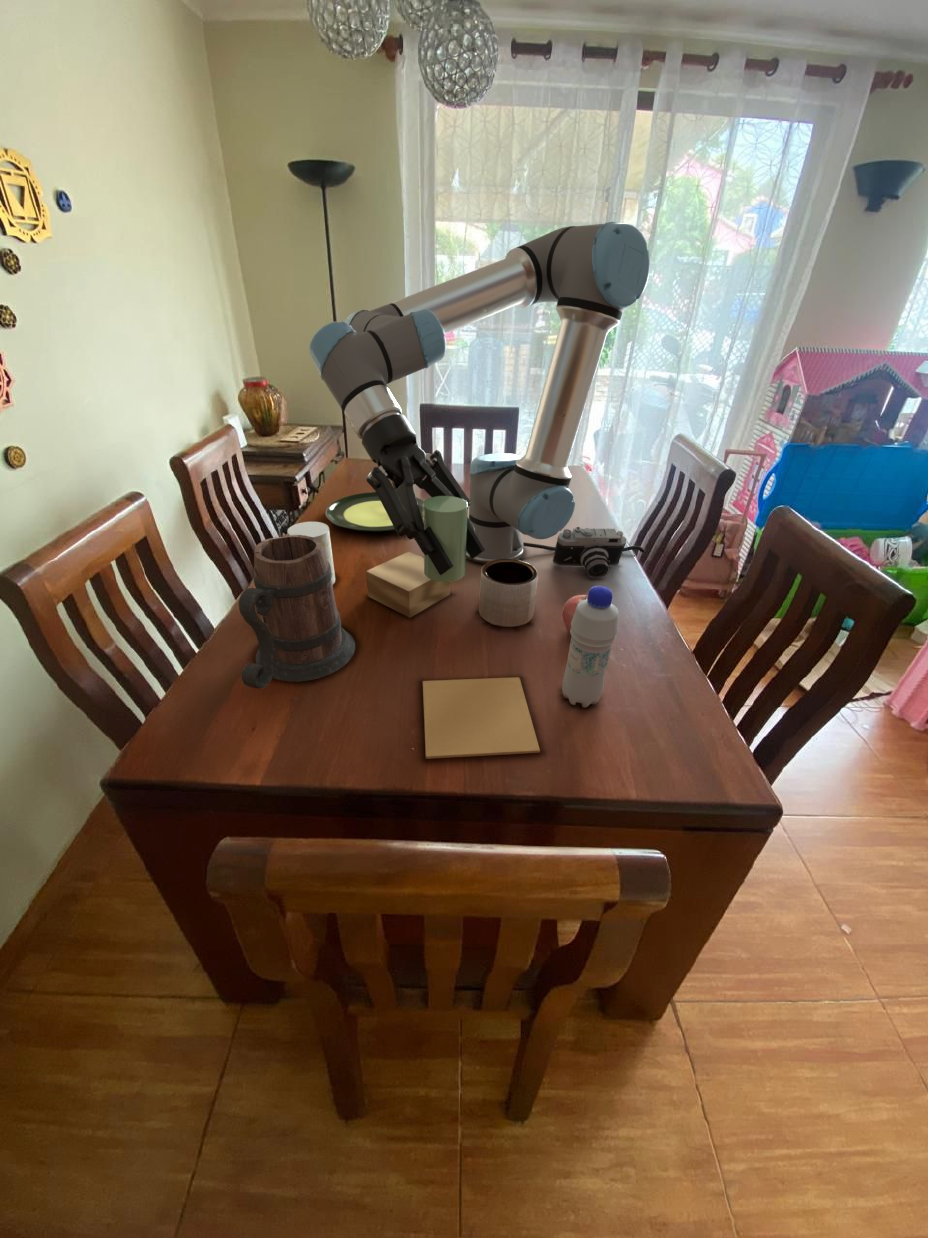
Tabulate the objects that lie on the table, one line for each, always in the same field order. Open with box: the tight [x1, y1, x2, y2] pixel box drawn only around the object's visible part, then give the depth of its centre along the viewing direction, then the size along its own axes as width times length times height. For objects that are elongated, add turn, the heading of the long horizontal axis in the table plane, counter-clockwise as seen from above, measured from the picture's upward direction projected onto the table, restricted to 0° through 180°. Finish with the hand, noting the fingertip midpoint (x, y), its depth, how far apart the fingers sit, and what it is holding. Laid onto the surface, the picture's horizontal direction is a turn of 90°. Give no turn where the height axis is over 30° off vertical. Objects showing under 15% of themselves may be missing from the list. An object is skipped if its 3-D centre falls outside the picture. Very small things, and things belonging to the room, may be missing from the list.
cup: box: [286, 521, 336, 585], centre depth 109 cm, size 8×8×12 cm
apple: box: [561, 594, 588, 632], centre depth 96 cm, size 7×7×8 cm
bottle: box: [561, 585, 620, 708], centre depth 78 cm, size 7×7×20 cm
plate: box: [325, 491, 425, 533], centre depth 141 cm, size 28×28×2 cm
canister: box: [423, 496, 469, 583], centre depth 77 cm, size 6×6×11 cm
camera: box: [552, 526, 628, 580], centre depth 116 cm, size 16×9×10 cm, turn 93°
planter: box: [478, 559, 539, 628], centre depth 100 cm, size 11×11×10 cm
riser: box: [365, 551, 451, 618], centre depth 106 cm, size 12×12×6 cm
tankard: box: [238, 535, 356, 690], centre depth 83 cm, size 24×17×20 cm
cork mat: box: [422, 676, 541, 760], centre depth 79 cm, size 16×16×1 cm
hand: (463, 562), depth 76 cm, fingers closed on canister, 6 cm apart
